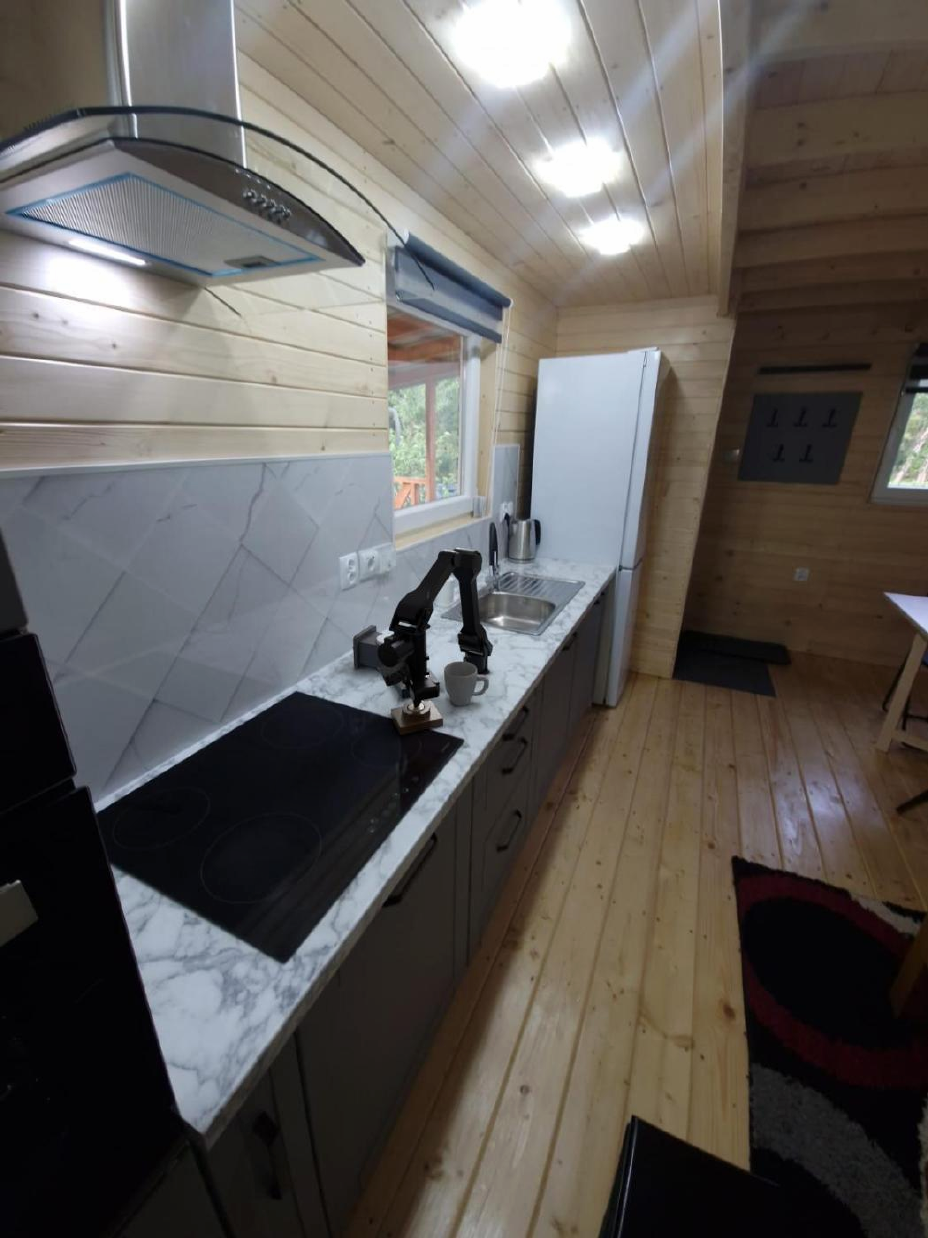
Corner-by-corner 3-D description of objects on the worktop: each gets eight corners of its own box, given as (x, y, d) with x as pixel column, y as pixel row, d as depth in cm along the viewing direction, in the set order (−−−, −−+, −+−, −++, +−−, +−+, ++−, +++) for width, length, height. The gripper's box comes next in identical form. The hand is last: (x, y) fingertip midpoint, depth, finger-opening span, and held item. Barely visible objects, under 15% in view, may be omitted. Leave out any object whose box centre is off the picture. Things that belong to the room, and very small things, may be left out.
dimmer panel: (429, 676, 147) (429, 667, 145) (439, 691, 139) (439, 681, 138) (393, 683, 143) (392, 674, 141) (401, 699, 135) (401, 688, 134)
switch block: (431, 707, 131) (431, 694, 130) (443, 725, 124) (443, 711, 122) (390, 716, 127) (390, 702, 126) (400, 735, 120) (399, 721, 118)
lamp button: (421, 707, 127) (421, 701, 126) (426, 715, 123) (426, 709, 123) (406, 710, 125) (406, 704, 125) (411, 718, 122) (410, 712, 121)
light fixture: (388, 679, 146) (388, 646, 142) (351, 668, 151) (350, 636, 147) (407, 663, 156) (407, 632, 151) (371, 653, 160) (370, 623, 156)
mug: (441, 707, 131) (441, 675, 127) (447, 690, 139) (446, 660, 136) (486, 711, 130) (487, 678, 126) (489, 694, 138) (490, 663, 134)
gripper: (372, 640, 123) (375, 694, 129) (391, 673, 107) (395, 734, 113) (414, 633, 127) (416, 686, 133) (440, 664, 111) (440, 723, 117)
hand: (416, 706), depth 124 cm, fingers closed, pressing on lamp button
